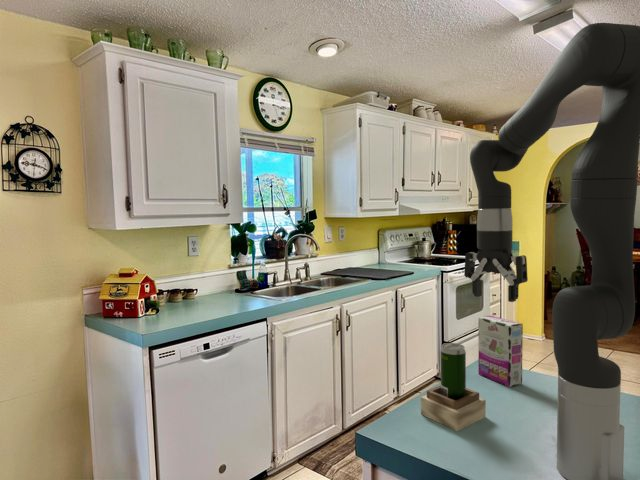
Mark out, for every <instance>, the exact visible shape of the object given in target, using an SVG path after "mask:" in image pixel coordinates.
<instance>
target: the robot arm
mask: <svg viewBox="0 0 640 480" xmlns="http://www.w3.org/2000/svg"><path fill="white" fill-rule="evenodd" d="M583 86H588V87H601V88H602V97H601V107H600V114H599V117H598V122H597V124H596V127H595V128H594V130H593V132H592V133H591V135H590V137H589V138H588V140H587V142H586V143H585V145H584V146H583V148H582V149H581V151H580V153H579V154H578V156H577V157H576V160H575V163H574V165H573V167H572V172H571V180H570V196H569V197H570V201H569V202H570V203H569V205H570V210H571V213H572V217H573V220H574V221H575V224H576V225H577V228H578V229H579V231H580V233H581V235H582V236H583V238H584V241H585V242H586V244H587V246H588V249H589V252H590V256H591V281H590V284H589V285H575V286H568V287H565V288H562V289H561V290H559V291H558V292H557V293H556V296H555V298H554V299H553V300H554V301H553V302H552V303H553V304H552V313H551V314H552V315H551V319H552V320H551V321H552V336H553V337H552V338H553V354H554V358H555V360H556V364H557V408H556V409H557V413H556V414H557V415H556V416H557V418H556V420H557V421H556V422H557V424H556V430H557V431H556V469H557V470H558V472H559V474H560V475H561V476H562V477H563V478H565V479H567V480H624V463H625V462H624V461H625V460H624V459H625V457H624V456H625V453H624V452H625V426H624V425H623V424H621V423H620V422H621V421H620V420H621V390H622V389H621V388H622V387H621V386H622V381H621V380H622V372H621V371H622V370H621V368H620V366H619V364H618V363H617V362H614V361H613V360H610V359H609V358H606V357H604V356H600V354H599V343H598V342H599V341H600V340H603V341H604V340H610V339H611V340H612V339H617V338H621V337H623V336H625V335H627V334H628V332H630V330H631V329H632V327H633V324H634V320H635V314H636V300H635V299H636V295H635V281H634V280H635V279H634V277H635V275H634V233H635V232H634V231H635V214H636V212H635V211H636V204H637V194H638V193H637V192H638V182H639V181H638V178H639V155H640V154H639V153H640V152H639V151H640V25H636V24H635V25H634V24H626V23H625V24H624V23H613V22H612V23H611V22H595V23H591V24H588V25H586V26H584V27H583V28H582V29H580V30H579V31H577V32H576V34H575V35H574V36H573V37H572V38H571V39H570V40H569V41H568V43H567V44H566V46H565V47H564V48H563V50H562V51H561V52H560V54H559V56H557V58H556V60H554V62H553V63H552V65H551V66H550V68H549V69H548V71H547V72H546V74H545V75H544V76H543V78H542V80H541V81H540V83H539V84H538V85H537V86H536V88H535V90H534V91H533V93H532V94H531V95H530V97H529V98H528V99H527V100H526V102H525V103H524V104H523V105H522V106H521V107H520V108H519V109H518V110H517V111H515V113H513V115H512V116H511V117H510V118H508V119H507V121H506V122H505V123H504V124H503V125H502V126H501V128H500V129H499V131H498V137H497V138H498V139H482V140H478V141H477V142H476V143H474V144H473V146H472V148H471V151H470V153H469V163H470V167H471V170H472V174H473V178H474V181H475V185H476V188H477V195H478V196H477V197H478V199H477V203H478V204H477V206H478V207H477V208H478V209H477V216H476V218H477V219H476V248H477V253H476V252H475V251H470V252H469V251H468V252H466V253H465V255H464V256H465V257H464V271H463V272H464V277H465V278H468V279H470V280H471V284H472V285H471V286H472V291H471V292H472V294H473V296H474V297H476V298H478V297H479V298H480V297H482V295H483V294H482V293H483V283H482V282H483V280H482V278H483V276H485V274H486V273H489V274H490V273H494V274H496V275H497V274H501V276H502V277H503V278H505V280H506V281H507V282H508V286H507V287H508V288H507V297H508V298H507V299H508V300H507V301H508V303H509V302H510V303H514V302H516V301H517V300H518V298H519V286H520V284H524V283H527V282H528V263H527V256H526V255H523V254H522V255H513V251H512V250H513V212H512V187H511V185H510V184H509V183H508V182H504V181H500V180H498V179H497V178H496V175H495V173H494V172H497V173H499V172H502V173H503V172H509V171H511V170H513V169H515V168H516V167H518V165H520V163H521V161H522V160H523V158H524V157H525V155H526V153H527V151H528V149H529V148H530V147H532V146H533V145H534V144H535V143H536V142H538V141H539V140H540V139H541V138H542V137H544V136H545V135H546V134H547V133H548V131H550V130H551V128H552V126H553V125H554V123H555V121H556V118H557V114H558V109H559V106H560V104H561V102H563V100H564V99H566V97H569V95H571V94H572V93H574V91H575V92H576V90H578V89H579V88H582V87H583ZM476 262H478V265H477V267H476ZM512 263H513V265H514V266H515V270H516V271H515V270H514V268H513V267H512V266H511V264H512Z"/></svg>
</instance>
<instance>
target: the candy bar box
mask: <svg viewBox="0 0 640 480" xmlns="http://www.w3.org/2000/svg"><path fill="white" fill-rule="evenodd" d="M523 325H524V324H523V323H520V322H518V321H517V322H516V321H513V320H509V319H505V318H501V317H498V316H493V315H485V316H480V317H478V365H477V366H478V371H477V372H478V375H480V376H482V377H484V378H487V379H489V380H491V381H494V382H496V383H498V384H501V385H503V386H505V387H507V388H514V387H517V386H521V385H523V335H524V334H523V329H524V328H523V327H524V326H523Z"/></svg>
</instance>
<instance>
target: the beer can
mask: <svg viewBox="0 0 640 480" xmlns="http://www.w3.org/2000/svg"><path fill="white" fill-rule="evenodd" d="M465 349H466V348H465V345H463V344H461V343H455V342H447V343H443V344H442V345H441V348H440V385H441V395H443V396H445V397H448V398H450V399H453V400H455V401H457V400H459V399H461V398H463V397H466V388H467V386H466V385H467V384H466V383H467V382H466V381H467V380H466V379H467V375H466V374H467V373H466V372H467V371H466V364H467V363H466V359H467V357H466V355H467V353H466V350H465Z"/></svg>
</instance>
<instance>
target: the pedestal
mask: <svg viewBox="0 0 640 480" xmlns="http://www.w3.org/2000/svg"><path fill="white" fill-rule="evenodd" d="M486 408H487V407H486V399H485V398H482V397H480V392H478V391H475V390H472V389H470V388H467V387H466V397H463V398H461V399H459V400H457V401H455V400H453V399H450V398H448V397H445V396H443V395H441V384H440V385H437V386H436V387H434V388H430V389H429V390H426V394H425V395H422V396H420V414H421V415H422V416H424V417H426V418H429V419H430V420H432V421H435V422H437V423H440V424H441V425H443V426H446V427H448V428H450V429H452V430H454V431H456V432H460V431H461V430H463V429H465V428H467V427H469V426H472V425H473V424H475V423H476V422H479V421H480V420H483V419H484V418H486V411H487V409H486Z"/></svg>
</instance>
